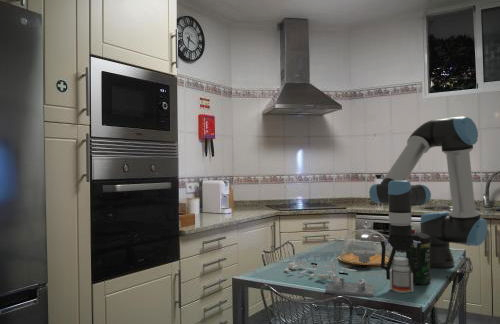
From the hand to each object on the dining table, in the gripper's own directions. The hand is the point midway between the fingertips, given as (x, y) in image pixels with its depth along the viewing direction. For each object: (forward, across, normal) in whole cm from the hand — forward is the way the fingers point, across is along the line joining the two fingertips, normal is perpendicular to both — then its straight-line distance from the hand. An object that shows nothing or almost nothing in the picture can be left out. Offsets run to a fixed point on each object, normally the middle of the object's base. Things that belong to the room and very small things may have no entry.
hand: (401, 289), depth 142 cm
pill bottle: (+1, 0, 0) cm, 1 cm away
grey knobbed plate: (0, +17, +4) cm, 18 cm away
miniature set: (0, +33, -12) cm, 35 cm away
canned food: (+1, -4, -81) cm, 81 cm away
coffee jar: (+1, -6, -14) cm, 15 cm away
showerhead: (+1, +15, -34) cm, 37 cm away
